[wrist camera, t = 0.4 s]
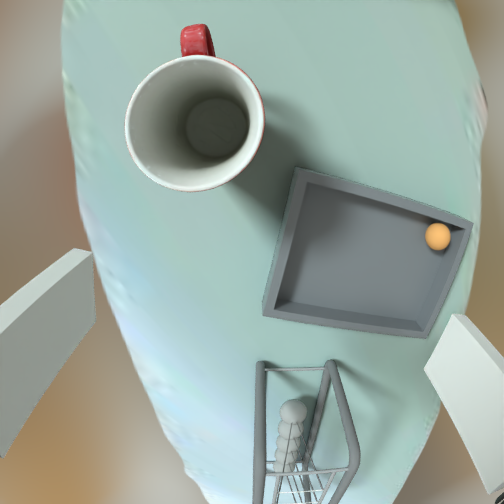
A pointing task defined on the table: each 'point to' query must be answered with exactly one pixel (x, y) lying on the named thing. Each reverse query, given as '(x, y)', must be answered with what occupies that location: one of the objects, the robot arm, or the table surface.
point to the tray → (360, 258)
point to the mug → (195, 118)
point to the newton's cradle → (290, 438)
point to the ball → (437, 236)
